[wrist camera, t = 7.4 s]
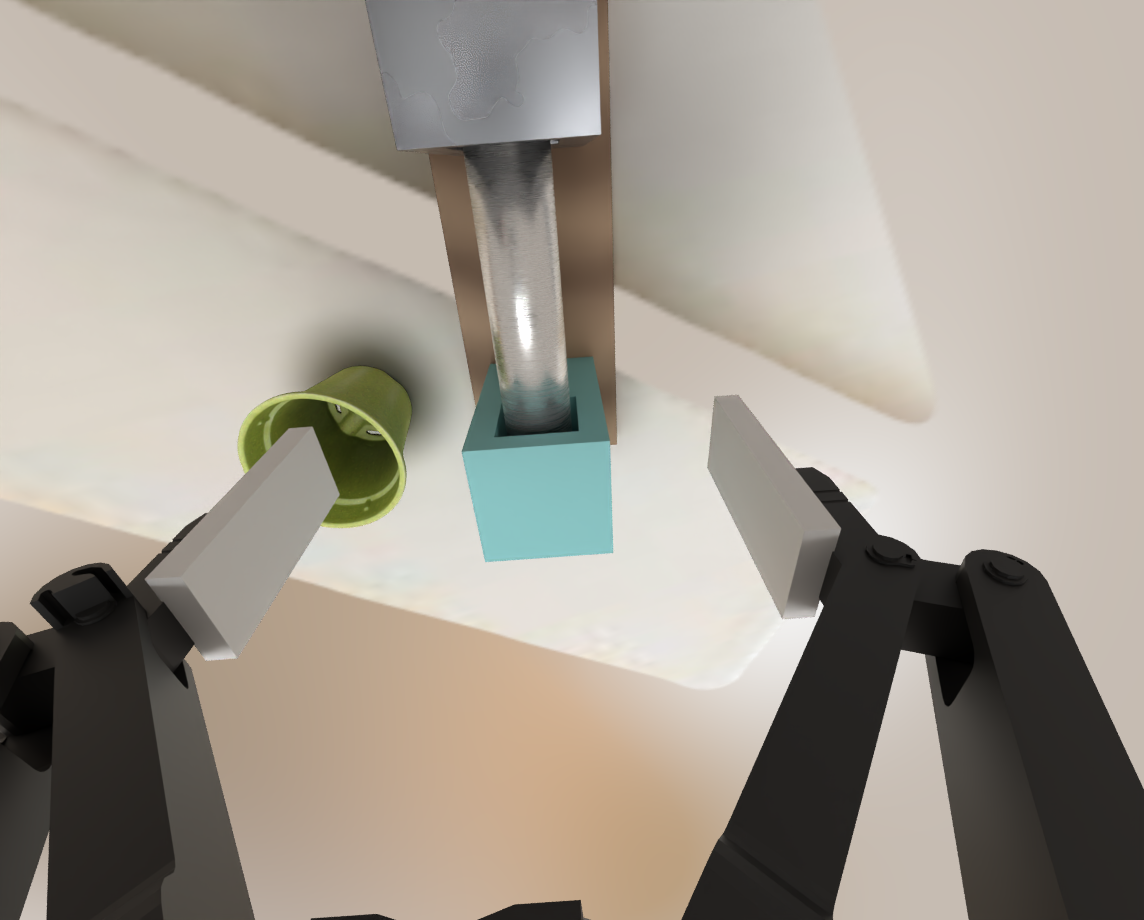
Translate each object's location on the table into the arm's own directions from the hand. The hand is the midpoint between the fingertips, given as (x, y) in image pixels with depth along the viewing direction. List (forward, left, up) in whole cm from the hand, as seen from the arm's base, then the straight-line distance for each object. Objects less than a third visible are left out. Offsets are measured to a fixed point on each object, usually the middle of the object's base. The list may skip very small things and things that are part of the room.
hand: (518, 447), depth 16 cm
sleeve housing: (-12, 0, -18) cm, 21 cm away
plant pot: (+6, -13, -19) cm, 24 cm away
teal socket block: (+7, 0, -18) cm, 19 cm away
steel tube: (-2, 0, -11) cm, 11 cm away
